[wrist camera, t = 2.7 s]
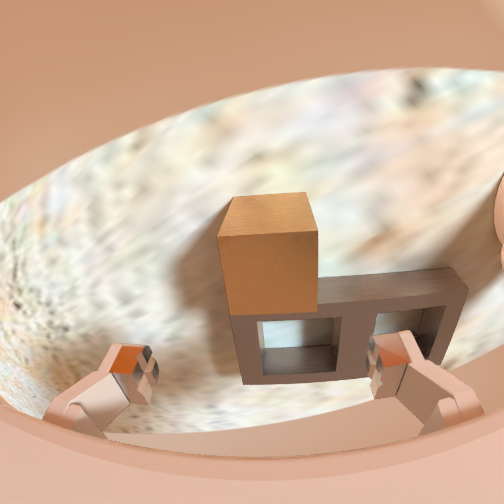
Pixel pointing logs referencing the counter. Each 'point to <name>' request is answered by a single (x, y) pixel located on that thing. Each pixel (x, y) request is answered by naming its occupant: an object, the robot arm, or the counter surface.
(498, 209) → the mug
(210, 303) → the counter surface
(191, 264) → the counter surface
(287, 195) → the wooden toy block
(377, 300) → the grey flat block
